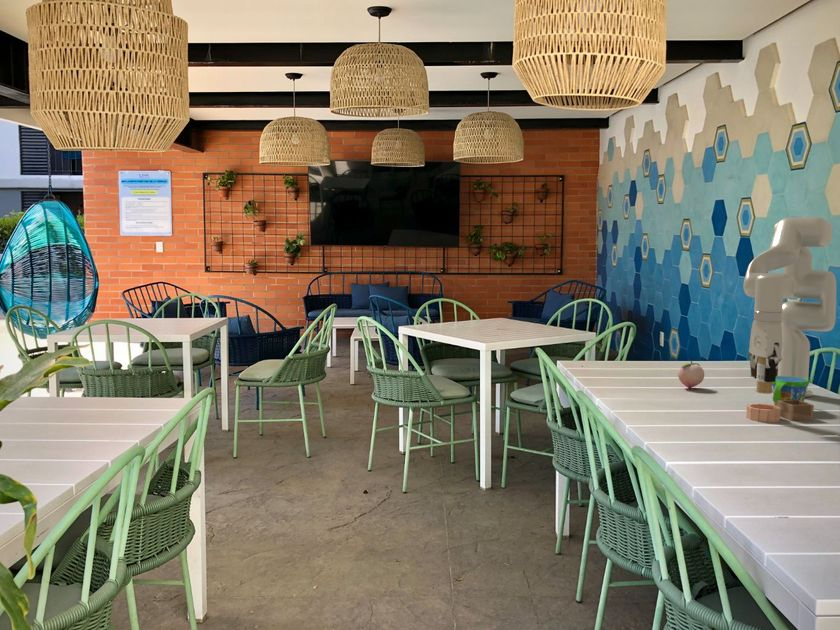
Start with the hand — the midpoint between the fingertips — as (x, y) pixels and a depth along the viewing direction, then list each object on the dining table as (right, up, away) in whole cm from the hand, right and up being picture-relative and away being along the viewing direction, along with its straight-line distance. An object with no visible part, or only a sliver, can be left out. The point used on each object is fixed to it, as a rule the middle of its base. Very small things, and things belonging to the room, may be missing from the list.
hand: (764, 379), depth 237 cm
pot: (0, -12, +1) cm, 12 cm away
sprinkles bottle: (0, -4, 0) cm, 4 cm away
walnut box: (+10, -12, +3) cm, 16 cm away
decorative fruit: (-5, -7, +50) cm, 51 cm away
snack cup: (+13, -11, +14) cm, 22 cm away
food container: (+32, -5, +75) cm, 82 cm away
